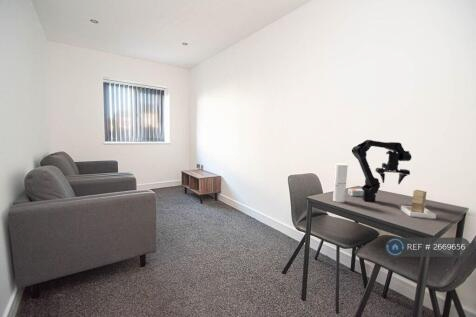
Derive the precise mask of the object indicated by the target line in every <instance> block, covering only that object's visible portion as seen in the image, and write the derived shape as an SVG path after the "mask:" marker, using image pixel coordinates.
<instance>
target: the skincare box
mask: <svg viewBox="0 0 476 317" xmlns="http://www.w3.org/2000/svg"><path fill="white" fill-rule="evenodd" d="M363 193H364V190H362V188H347V195H350V196H351V197H363Z"/></svg>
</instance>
